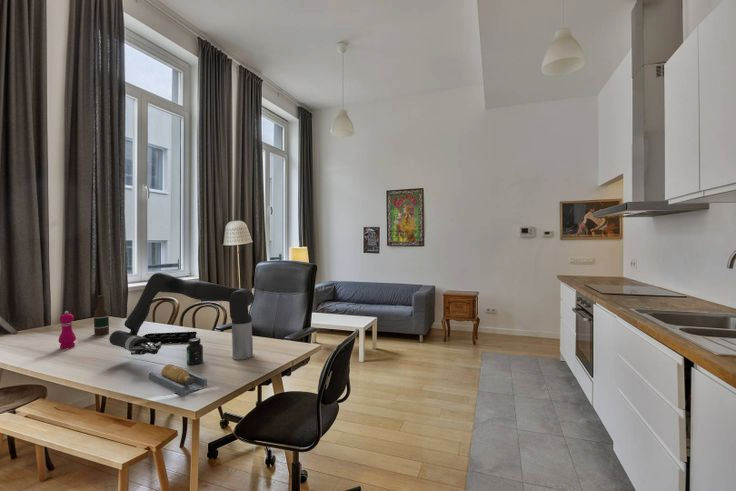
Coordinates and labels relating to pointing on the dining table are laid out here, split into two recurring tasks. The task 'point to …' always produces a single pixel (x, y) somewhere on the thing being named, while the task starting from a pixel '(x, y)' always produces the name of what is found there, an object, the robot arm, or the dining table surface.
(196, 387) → the cradle
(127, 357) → the dining table surface
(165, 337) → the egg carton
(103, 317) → the beer bottle
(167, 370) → the bottle
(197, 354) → the supplement bottle
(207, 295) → the robot arm
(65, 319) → the pepper mill
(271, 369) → the dining table surface
